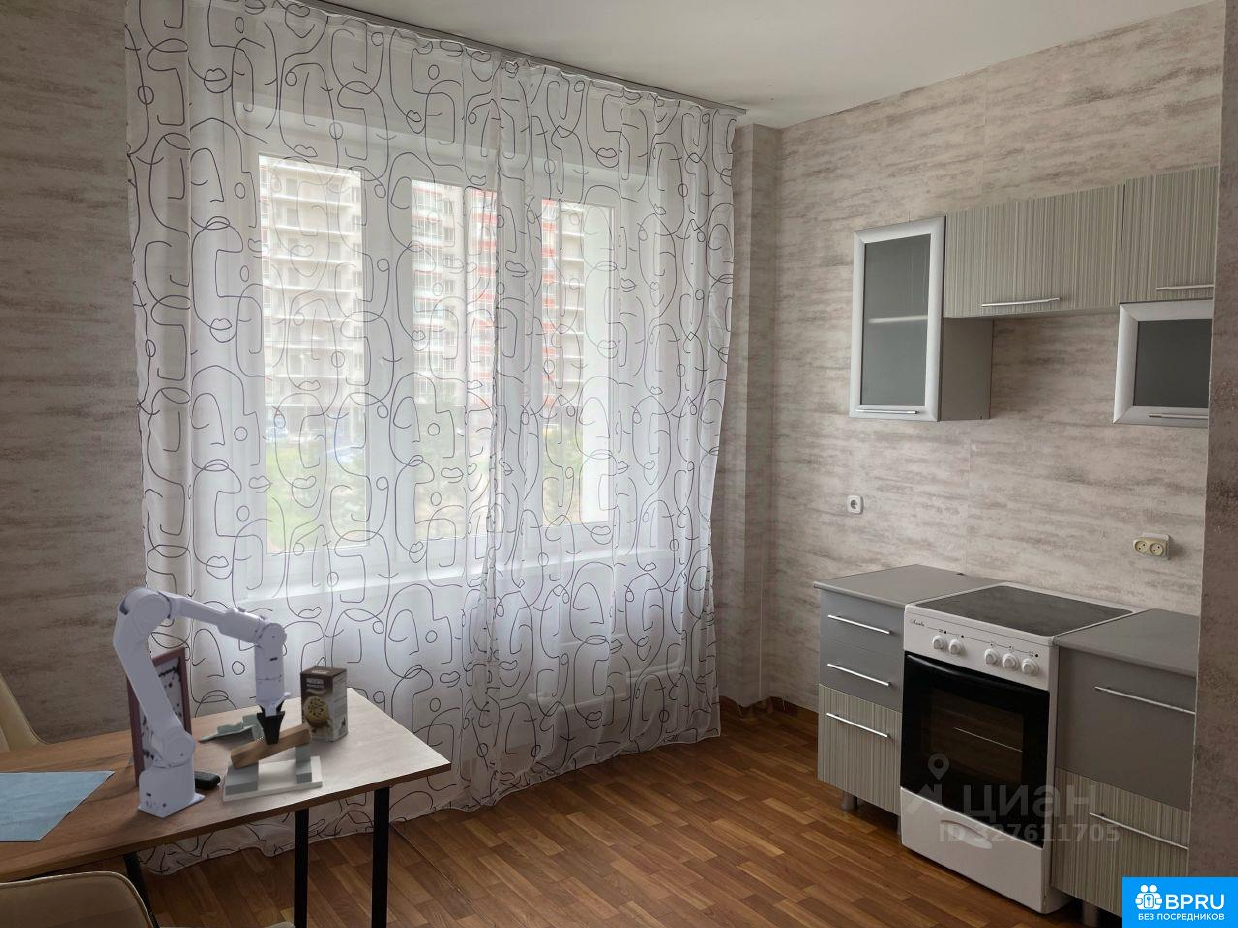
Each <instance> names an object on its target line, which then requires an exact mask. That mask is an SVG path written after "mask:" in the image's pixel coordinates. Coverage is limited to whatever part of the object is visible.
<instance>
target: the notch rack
mask: <svg viewBox="0 0 1238 928" xmlns="http://www.w3.org/2000/svg"><path fill="white" fill-rule="evenodd" d="M294 750H295V751H294V752H295V754H294V755H295V759H294V758H293V759H289V760H288V759H287V760H281V761H276V762H275V761H274V762H269V763H262V764H260V760H259V761H256V762H254V763H251V764H248V765H246V766H243V767H240V768H238V769H234V766H233V763H232V760H229V761H228V765H227V769H226V772H225V780H224V787H223V793H222V794H223V795H222V802H223V803H225V802H226V803H227V802H230V801H231V802H232V801H239V800H244V799H249V798H250V799H251V798H255V797H256V798H257V797H262V796H268V795H274V794H280V793H286V792H294V791H299V790H306V789H312V788H318V787H323V776H322V767H321V766H322V765H321V758H320V755H314V756H311V741H310V742H307V743H304V744H302V745H299V746H296V747H294Z"/></svg>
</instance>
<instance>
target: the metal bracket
mask: <svg viewBox="0 0 1238 928" xmlns="http://www.w3.org/2000/svg"><path fill="white" fill-rule="evenodd" d="M241 719H242V721H239V722H237V723H236V724H233V723H227V724H222V725H221V724H220V725H218V726H217V727H216V730H217V731H216V732H214V733H212V734H209V735H207V736H206V735H205V736H204V737H202V738H199V739H198V742H202V741H203V742H204V741H208V740H210V739H212V738H215V737H221V736H226V735H231V734H232V735H233V734H238V733H241V732H244V731H246V730H248V729H251V732H252V736H253V740H254V741H256V740H258V739H260V738H262V737H265V735H264V731H263V728H262V726H261V724H260V722H259V721H258V719H257V713H251V714H246V715H243V716H242V718H241Z"/></svg>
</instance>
